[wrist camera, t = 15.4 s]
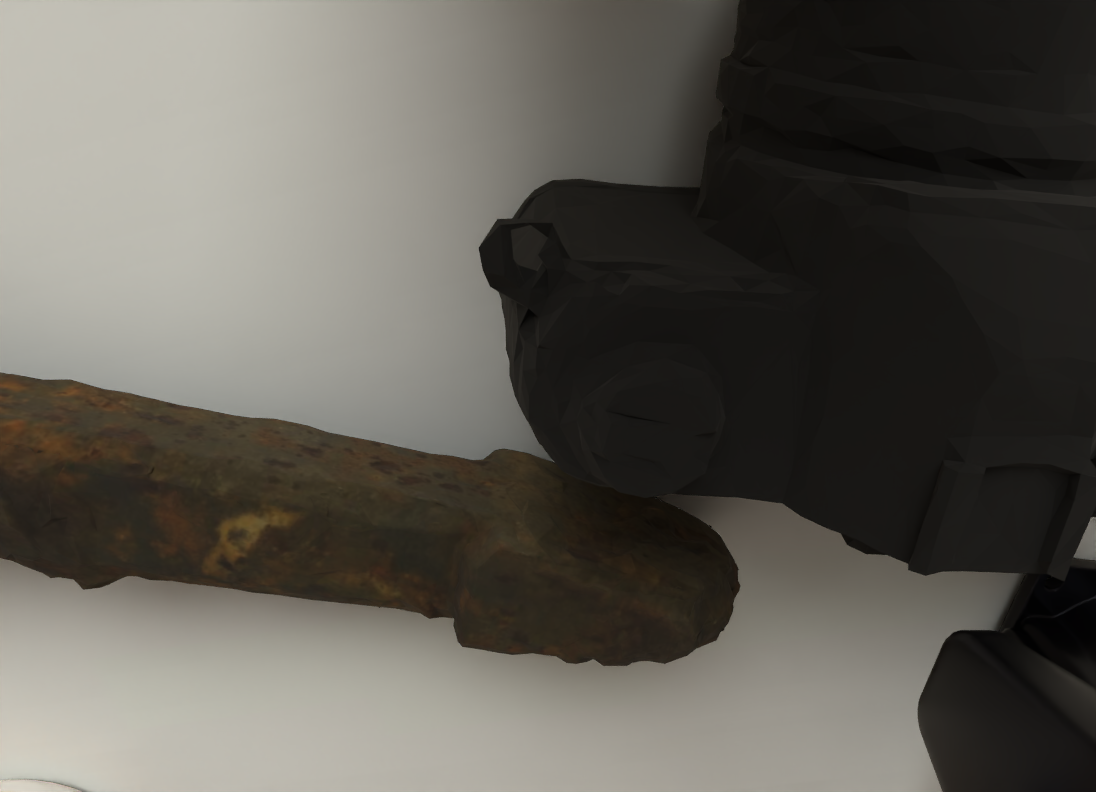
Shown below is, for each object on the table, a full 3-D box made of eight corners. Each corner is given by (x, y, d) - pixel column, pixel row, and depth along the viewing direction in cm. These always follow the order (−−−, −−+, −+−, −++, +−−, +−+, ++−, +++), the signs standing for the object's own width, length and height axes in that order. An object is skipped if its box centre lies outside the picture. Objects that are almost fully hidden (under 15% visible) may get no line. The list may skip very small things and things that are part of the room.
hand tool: (-170, 464, 20) (-332, 604, 16) (-173, 288, 18) (-354, 391, 14) (673, 614, 24) (721, 757, 20) (730, 478, 22) (795, 603, 18)
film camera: (1294, -75, 18) (1975, -87, 10) (1114, 389, 22) (1496, 647, 14) (494, -182, 16) (540, -303, 8) (457, 349, 20) (462, 621, 12)
